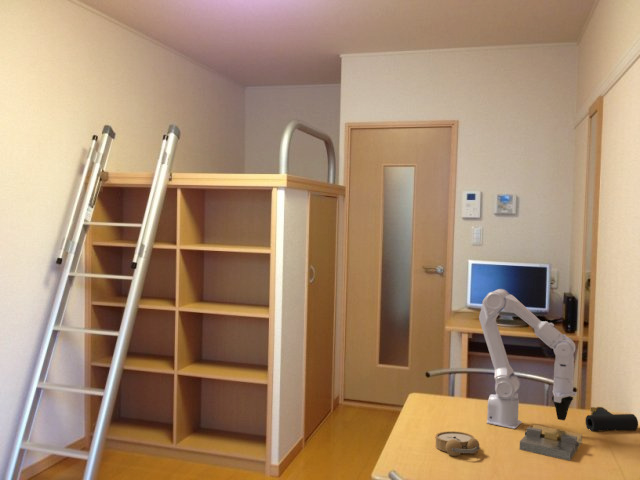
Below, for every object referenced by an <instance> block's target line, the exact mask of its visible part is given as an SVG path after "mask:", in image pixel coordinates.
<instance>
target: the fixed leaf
mask: <svg viewBox="0 0 640 480" xmlns="http://www.w3.org/2000/svg"><path fill="white" fill-rule="evenodd" d="M532 427H533V426H531V427H530V426H527V428H526V430H525V431H524V437H522V438H521V440H519V450H522V451H524V452H525V451H526V452H528V453H529V452H530V453H534V454H538V455H542V456H547V457H552V458H555V459H560V460H565V461H569V462H570V461H571V460H572V458H573V457H574V455H575V454H576V453H577V451H578V450H577V447H578V446H579V442H577V437H576V436H571V435H567V434H562V435H561V442H560V441H555V440H550V439H546V438H542V429H537V428H532Z"/></svg>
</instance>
